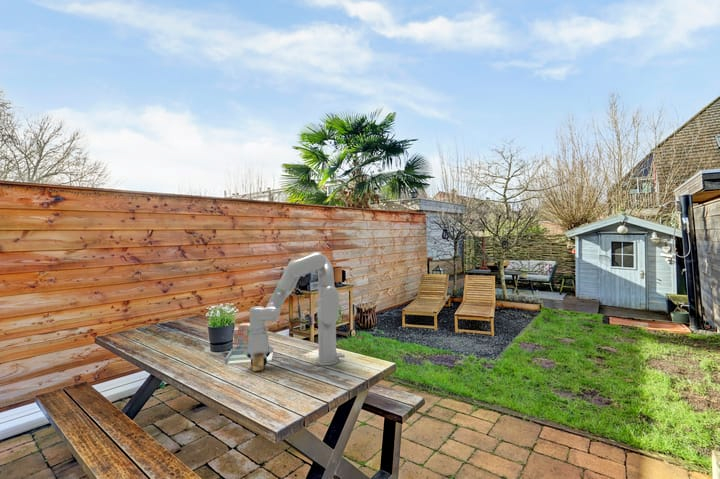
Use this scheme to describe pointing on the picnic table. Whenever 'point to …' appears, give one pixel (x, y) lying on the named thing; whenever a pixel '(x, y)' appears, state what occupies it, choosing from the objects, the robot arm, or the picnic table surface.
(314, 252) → the robot arm
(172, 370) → the picnic table surface
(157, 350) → the picnic table surface
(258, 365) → the ochre block
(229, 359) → the arena
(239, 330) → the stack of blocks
